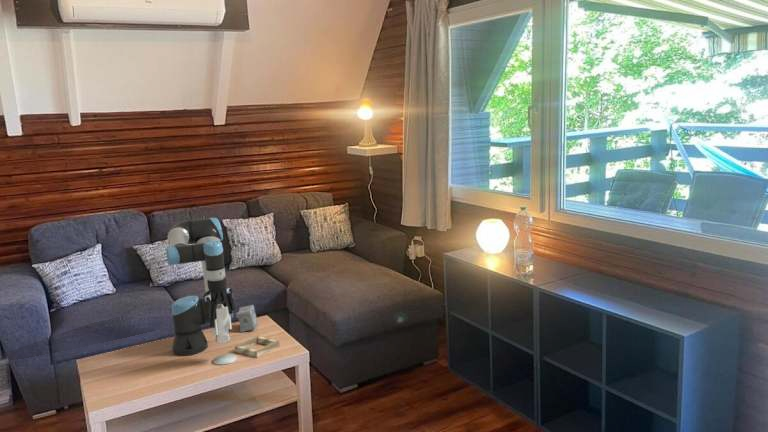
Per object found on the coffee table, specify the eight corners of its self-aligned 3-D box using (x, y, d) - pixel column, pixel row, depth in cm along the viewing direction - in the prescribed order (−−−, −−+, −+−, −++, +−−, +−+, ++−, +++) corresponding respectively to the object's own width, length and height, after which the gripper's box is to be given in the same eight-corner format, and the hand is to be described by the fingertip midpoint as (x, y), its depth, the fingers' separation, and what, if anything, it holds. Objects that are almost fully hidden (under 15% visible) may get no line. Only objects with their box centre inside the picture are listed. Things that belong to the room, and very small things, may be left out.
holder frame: (235, 351, 268) (234, 346, 268) (257, 341, 279) (257, 335, 279) (257, 357, 261) (256, 352, 260) (279, 346, 272) (279, 341, 271)
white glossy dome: (208, 362, 259) (208, 360, 259) (226, 353, 267) (226, 352, 267) (224, 366, 253) (224, 365, 253) (242, 357, 261) (242, 356, 261)
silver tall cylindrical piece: (218, 337, 262) (214, 303, 259) (234, 337, 261) (230, 303, 259) (212, 343, 255) (208, 309, 252) (228, 343, 254) (224, 308, 252)
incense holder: (241, 325, 300) (239, 305, 298) (258, 324, 301) (256, 304, 299) (237, 333, 291) (235, 312, 289) (254, 331, 291) (252, 311, 289)
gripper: (203, 286, 243) (209, 340, 247) (240, 273, 259) (245, 325, 263) (191, 283, 247) (197, 337, 252) (228, 271, 263) (233, 322, 268)
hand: (222, 331), depth 257 cm, fingers closed on silver tall cylindrical piece, 7 cm apart
